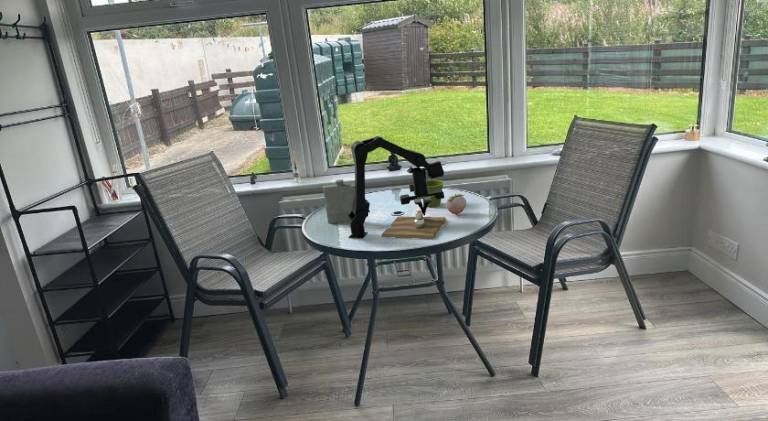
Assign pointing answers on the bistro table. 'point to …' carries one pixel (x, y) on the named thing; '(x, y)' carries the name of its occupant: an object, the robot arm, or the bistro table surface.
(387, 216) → the bistro table surface
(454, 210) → the decorative fruit
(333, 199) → the hip flask
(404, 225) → the board
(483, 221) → the bistro table surface
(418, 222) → the lever
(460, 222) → the bistro table surface
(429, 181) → the plant pot
